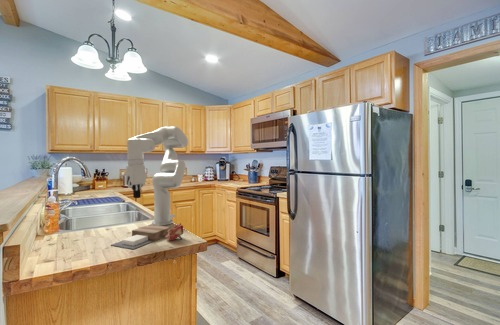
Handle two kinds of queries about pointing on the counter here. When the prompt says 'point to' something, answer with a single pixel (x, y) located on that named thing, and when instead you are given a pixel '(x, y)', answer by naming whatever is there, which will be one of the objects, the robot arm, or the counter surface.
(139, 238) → the tile
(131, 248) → the mat
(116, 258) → the counter surface
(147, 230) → the block
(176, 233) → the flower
